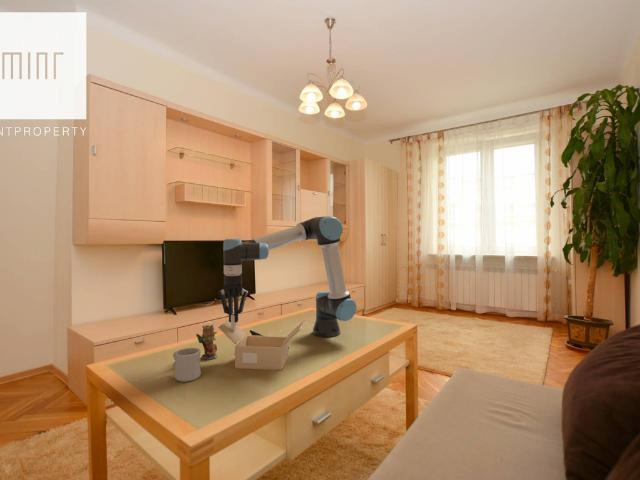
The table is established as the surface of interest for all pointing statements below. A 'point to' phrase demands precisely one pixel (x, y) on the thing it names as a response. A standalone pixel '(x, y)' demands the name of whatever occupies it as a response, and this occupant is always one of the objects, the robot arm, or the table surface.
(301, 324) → the right flap
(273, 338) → the carton
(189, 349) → the mug
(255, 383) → the table surface
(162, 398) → the table surface
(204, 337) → the figurine
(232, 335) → the left flap
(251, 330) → the game console
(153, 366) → the table surface
